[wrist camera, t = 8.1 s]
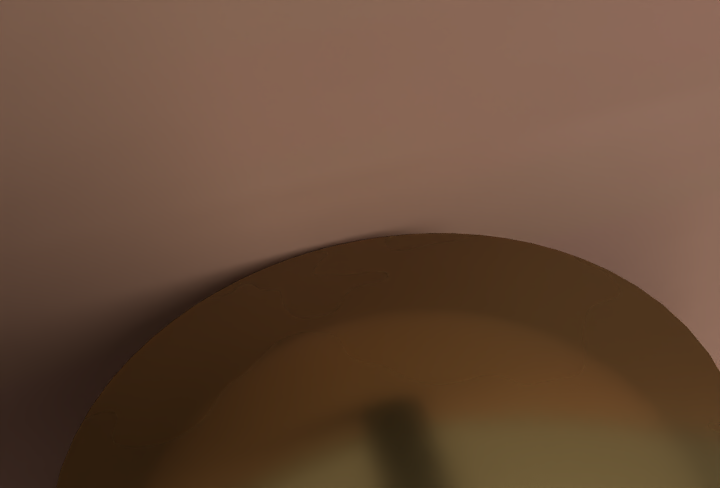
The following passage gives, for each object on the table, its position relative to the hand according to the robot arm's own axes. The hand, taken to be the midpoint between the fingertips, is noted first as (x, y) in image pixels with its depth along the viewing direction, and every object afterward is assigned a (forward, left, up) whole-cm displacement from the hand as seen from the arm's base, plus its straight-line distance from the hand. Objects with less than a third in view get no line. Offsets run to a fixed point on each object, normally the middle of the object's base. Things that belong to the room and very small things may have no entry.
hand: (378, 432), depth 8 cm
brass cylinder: (-5, 0, -1) cm, 5 cm away
